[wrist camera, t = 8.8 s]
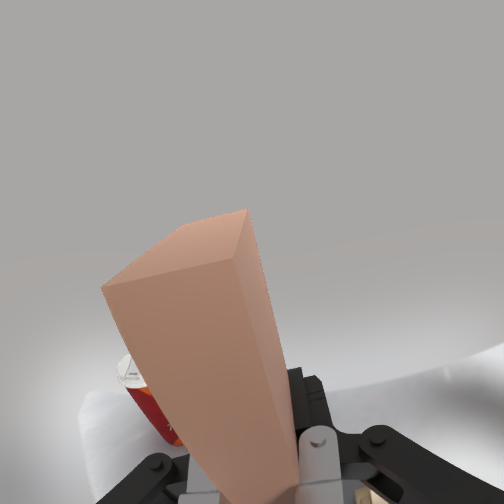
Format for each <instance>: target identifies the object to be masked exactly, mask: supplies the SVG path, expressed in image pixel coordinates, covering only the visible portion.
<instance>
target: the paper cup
mask: <svg viewBox="0 0 504 504" xmlns="http://www.w3.org/2000/svg"><path fill="white" fill-rule="evenodd" d="M117 372H118V380H119V382H120V383H121V385H123V386H124V387H126V389H127V390H128V392H129V393H130V395H131V396H132V398H133V399H134V400H135V402H136V403H137V405H138V406H139V407H140V409H141V410H142V411H143V413H144V414H145V415H146V417H147V418H148V419H149V421H150V422H151V423H152V424H153V426H154V427H155V428H156V429H157V431H158V432H159V433H160V434H161V435H162V437H163V438H164V439H165V440H166V441H167V442H168V443H170V444H171V445H175V446H182V445H184V444H183V442H182V441H181V440H180V438H179V437H178V435H177V434H176V432H175V431H174V429H173V428H172V426H171V425H170V423H169V421H168V420H167V418H166V417H165V415H164V414H163V412H162V410H161V409H160V407H159V405H158V404H157V402H156V400H155V399H154V397H153V395H152V394H151V392H150V390H149V388H148V386H147V385H146V383H145V381H144V379H143V377H142V376H141V374H140V372H139V370H138V368H137V366H136V364H135V362H134V360H133V358H132V356H131V354H130V353H129V354H127V355H126V356H125V357H123V358H122V360H121V361H120V362H119V364H118V366H117Z"/></svg>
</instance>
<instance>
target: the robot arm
mask: <svg viewBox="0 0 504 504" xmlns="http://www.w3.org/2000/svg"><path fill="white" fill-rule="evenodd" d="M287 373H288V379H289V386H290V394H291V402H292V411H293V419H294V427H295V433H296V436H297V440H298V444H299V474H300V485H296V491H295V504H344V503H343V489H342V480H360V481H361V482H362V483H363V484H364V485H366V486H367V487H368V488H369V489H371V490H372V491H373V492H374V493H376V494H377V495H378V496H380V497H381V498H382V499H383V500H385V501H386V502H387V503H389V504H504V491H503V490H501V489H499V488H496V487H494V486H492V485H490V484H488V483H486V482H484V481H482V480H480V479H478V478H477V477H475V476H473V475H471V474H469V473H467V472H465V471H463V470H462V469H460V468H458V467H456V466H454V465H452V464H451V463H449V462H447V461H445V460H444V459H442V458H440V457H438V456H437V455H435V454H433V453H432V452H430V451H428V450H427V449H425V448H423V447H422V446H420V445H418V444H417V443H415V442H413V441H412V440H410V439H408V438H407V437H405V436H404V435H402V434H400V433H399V432H397V431H396V430H394V429H393V428H391V427H389V426H386V425H375V426H372V427H370V428H368V429H366V430H365V431H364V432H363V433H362V434H346V433H342V432H340V431H338V430H337V429H336V428H335V427H334V426H333V423H332V420H331V416H330V412H329V408H328V404H327V400H326V397H325V393H324V389H323V386H322V382H321V381H320V380H319V379H318V378H317V377H316V376H315V375H313V376H309V377H304V378H303V374H302V369H301V367H298V368H294V369H289V370H287ZM96 504H231V503H230V501H229V500H228V499H227V498H226V497H225V496H224V494H223V493H222V492H220V491H219V490H218V488H217V487H216V486H215V485H214V484H213V482H212V481H211V480H210V479H209V477H208V476H207V475H206V474H205V472H204V471H203V470H202V469H201V467H200V466H199V465H198V463H197V462H196V461H195V459H194V458H193V457H192V455H191V454H188V455H185V456H181V457H177V458H173V459H171V458H170V457H169V456H168V455H166V454H163V453H154V454H151V455H149V456H148V457H146V458H145V459H144V460H143V461H142V462H141V463H140V464H139V465H138V466H137V467H136V468H135V469H134V470H133V471H131V472H130V473H129V474H128V475H127V476H126V477H125V478H124V479H123V480H122V481H121V482H120V483H119V484H117V485H116V486H115V487H114V488H113V489H112V490H111V491H110V492H109V493H107V494H106V495H105V496H104V497H103V498H102V499H101V500H99V501H98V502H97V503H96Z"/></svg>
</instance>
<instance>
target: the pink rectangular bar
mask: <svg viewBox="0 0 504 504" xmlns="http://www.w3.org/2000/svg"><path fill="white" fill-rule="evenodd" d="M101 289H102V292H103V294H104V297H105V299H106V302H107V304H108V306H109V309H110V311H111V313H112V316H113V318H114V320H115V322H116V325H117V327H118V329H119V332H120V334H121V336H122V338H123V340H124V342H125V344H126V346H127V348H128V350H129V352H130V354H131V356H132V358H133V360H134V362H135V364H136V366H137V368H138V370H139V372H140V374H141V376H142V377H143V379H144V381H145V383H146V385H147V386H148V388H149V390H150V392H151V394H152V395H153V397H154V399H155V400H156V402H157V404H158V405H159V407H160V409H161V410H162V412H163V414H164V415H165V417H166V418H167V420H168V421H169V423H170V425H171V426H172V428H173V429H174V431H175V432H176V434H177V435H178V437H179V438H180V440H181V441H182V442H183V444H184V445H185V447H186V448H187V450H188V451H189V452H190V454H191V455H192V457H193V458H194V459H195V461H196V462H197V463H198V465H199V466H200V467H201V469H202V470H203V471H204V472H205V474H206V475H207V476H208V477H209V479H210V480H211V481H212V482H213V484H214V485H215V486H216V487H217V488H218V490H219V491H220V492H222V493H223V494H224V496H225V497H226V498H227V499H228V500H229V501H230V503H231V504H295V491H296V485H300V474H299V444H298V440H297V436H296V433H295V427H294V419H293V411H292V402H291V394H290V386H289V379H288V373H287V369H286V364H285V360H284V356H283V352H282V348H281V344H280V339H279V335H278V331H277V327H276V322H275V318H274V315H273V310H272V306H271V302H270V297H269V293H268V289H267V285H266V281H265V276H264V272H263V268H262V264H261V260H260V256H259V252H258V248H257V244H256V240H255V236H254V231H253V227H252V223H251V219H250V215H249V211H248V209H244V210H240V211H236V212H231V213H227V214H223V215H219V216H215V217H211V218H208V219H203V220H200V221H196V222H192V223H188V224H184V225H182V226H181V227H180V228H178V229H177V230H176V231H174V232H173V233H171V234H170V235H169V236H167V237H166V238H165V239H163V240H162V241H160V242H159V243H158V244H156V245H155V246H154V247H152V248H151V249H150V250H148V251H147V252H146V253H144V254H143V255H142V256H140V257H139V258H138V259H137V260H135V261H134V262H133V263H131V264H130V265H129V266H128V267H126V268H125V269H124V270H122V271H121V272H120V273H119V274H117V275H116V276H115V277H113V278H112V279H111V280H110V281H108V282H107V283H106V284H105V285H103V286H102V287H101Z"/></svg>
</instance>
